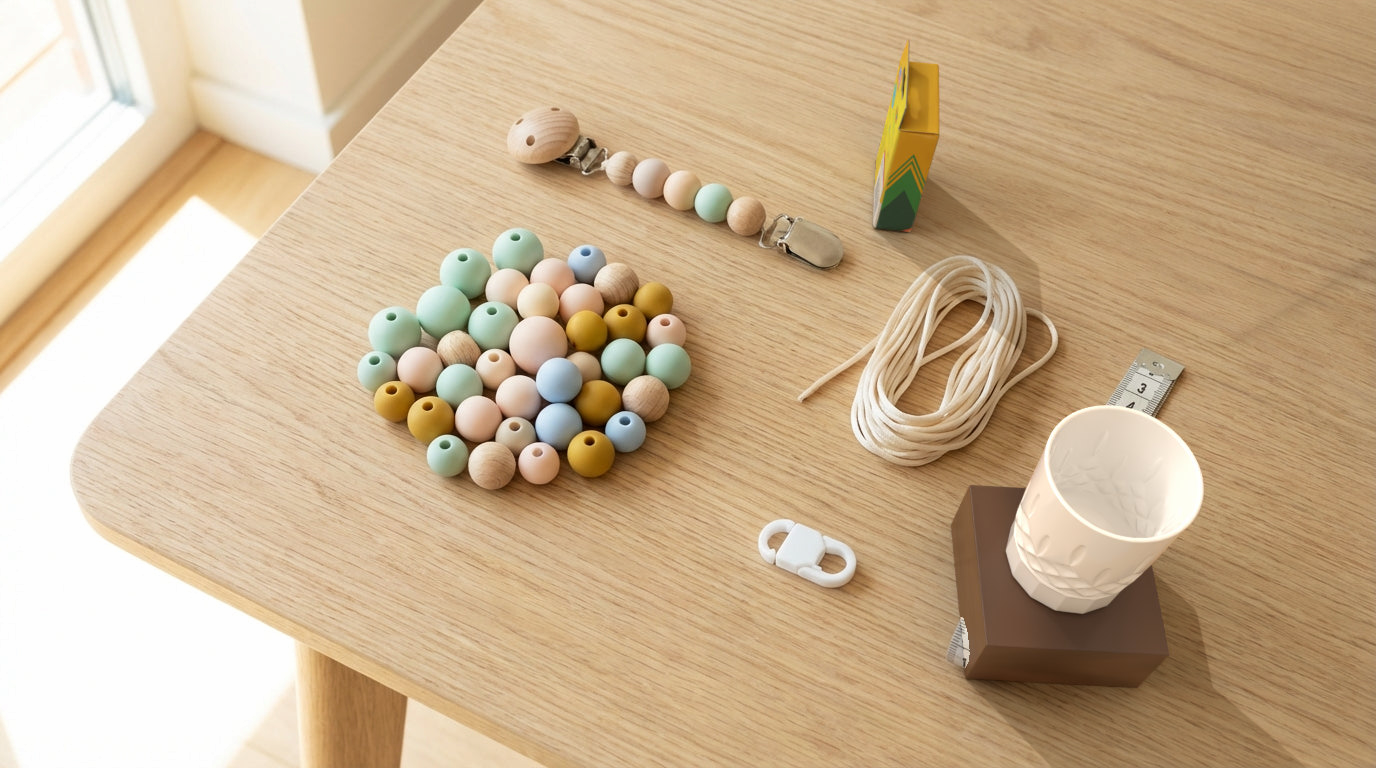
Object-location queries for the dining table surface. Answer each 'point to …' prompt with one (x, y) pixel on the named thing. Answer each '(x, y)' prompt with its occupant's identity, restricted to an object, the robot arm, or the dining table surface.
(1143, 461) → the white cup
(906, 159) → the crayon box
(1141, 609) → the walnut riser
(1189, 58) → the dining table surface
